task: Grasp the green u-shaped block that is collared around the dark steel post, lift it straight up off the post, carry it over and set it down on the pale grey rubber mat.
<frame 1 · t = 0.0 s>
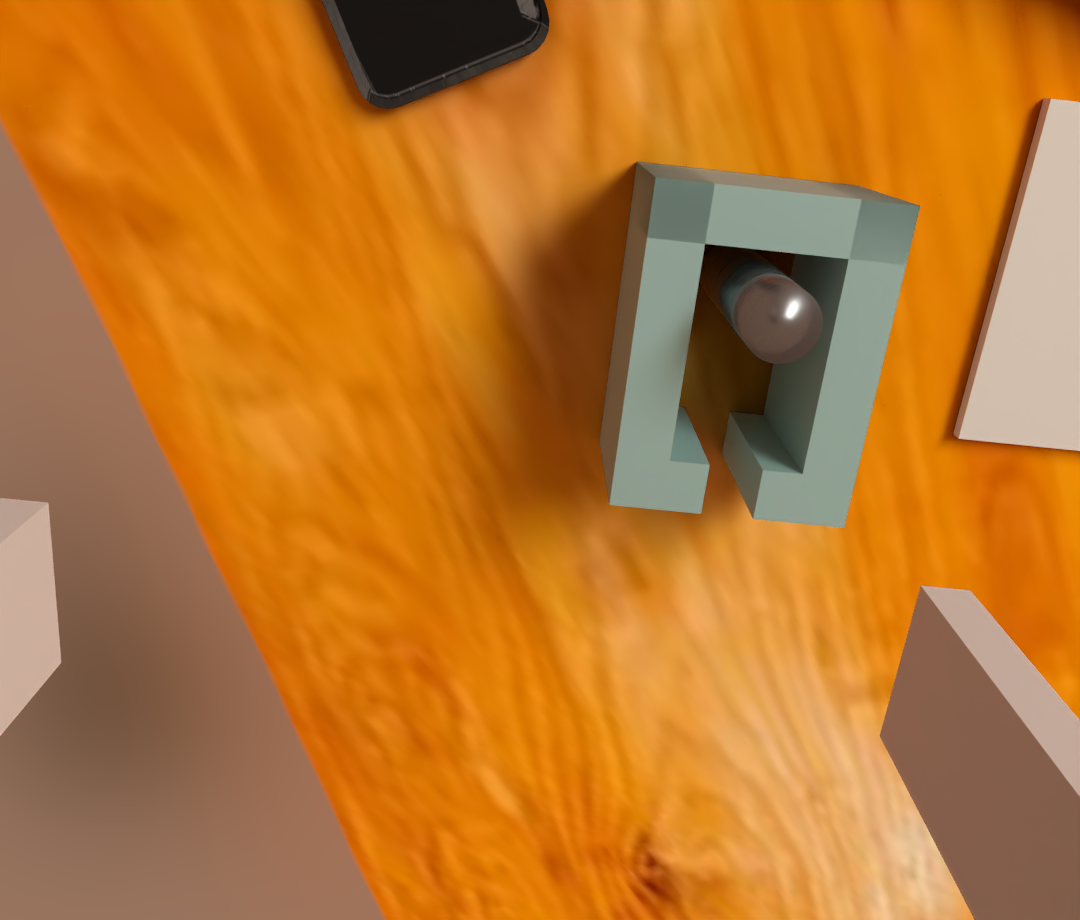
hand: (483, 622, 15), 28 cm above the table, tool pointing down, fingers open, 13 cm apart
green u-shaped block: (722, 319, 42), on the table
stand: (730, 272, 41), on the table
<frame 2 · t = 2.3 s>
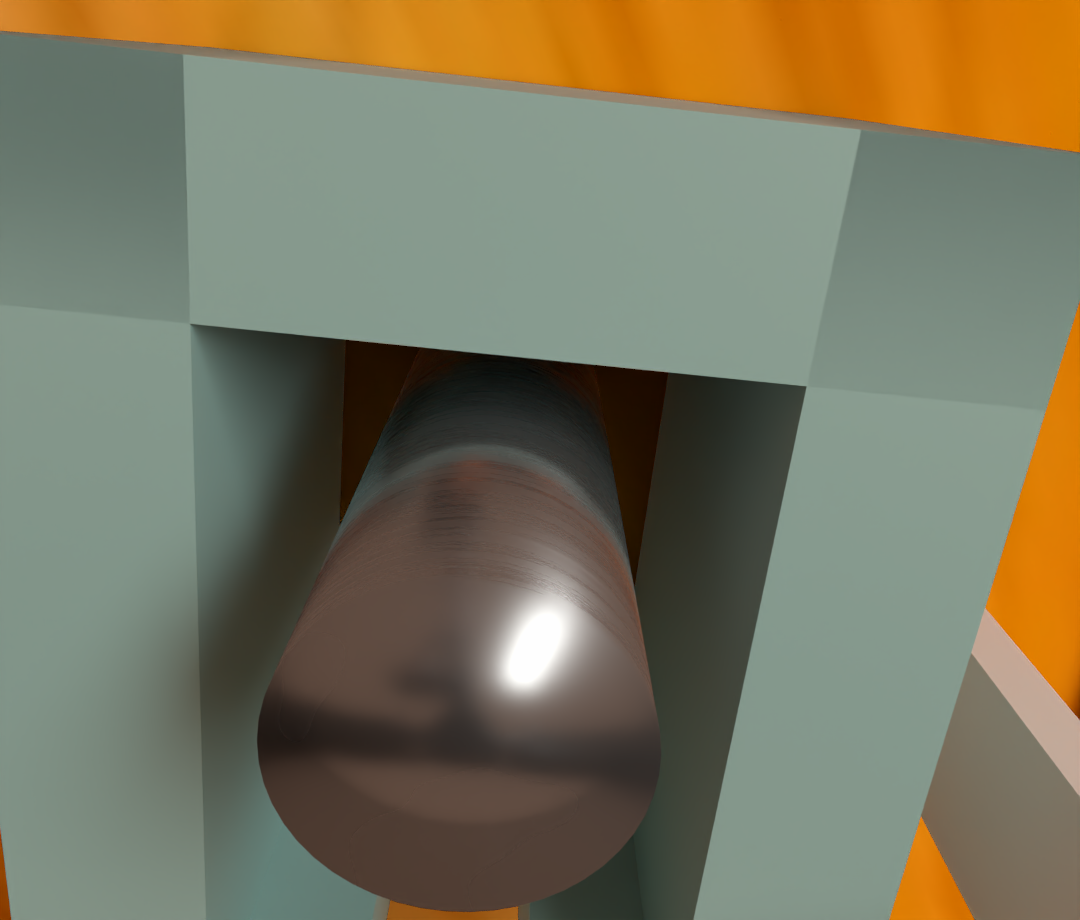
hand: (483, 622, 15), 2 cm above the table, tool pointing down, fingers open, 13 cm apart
green u-shaped block: (496, 478, 16), on the table
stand: (507, 359, 15), on the table
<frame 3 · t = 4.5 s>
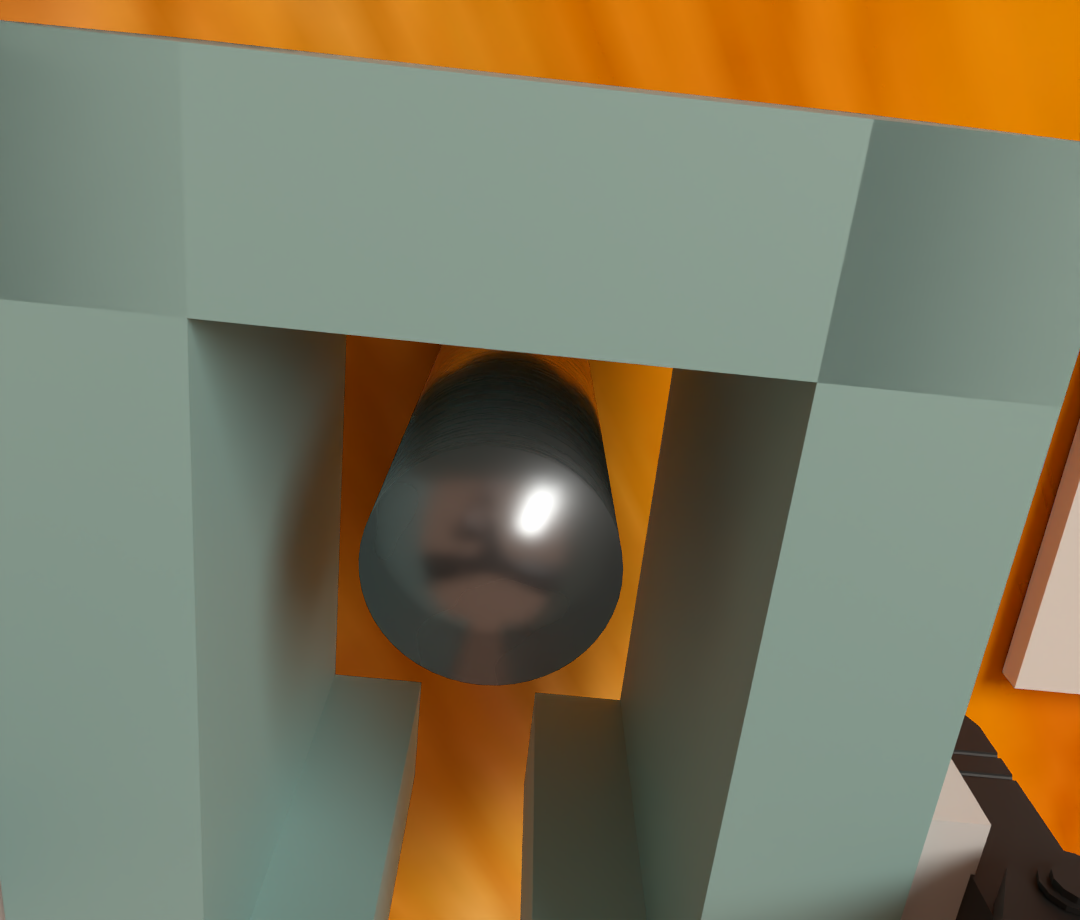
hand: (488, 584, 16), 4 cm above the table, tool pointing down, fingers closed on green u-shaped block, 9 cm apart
green u-shaped block: (498, 477, 16), point 4 cm above the table, touching gripper
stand: (516, 346, 19), on the table
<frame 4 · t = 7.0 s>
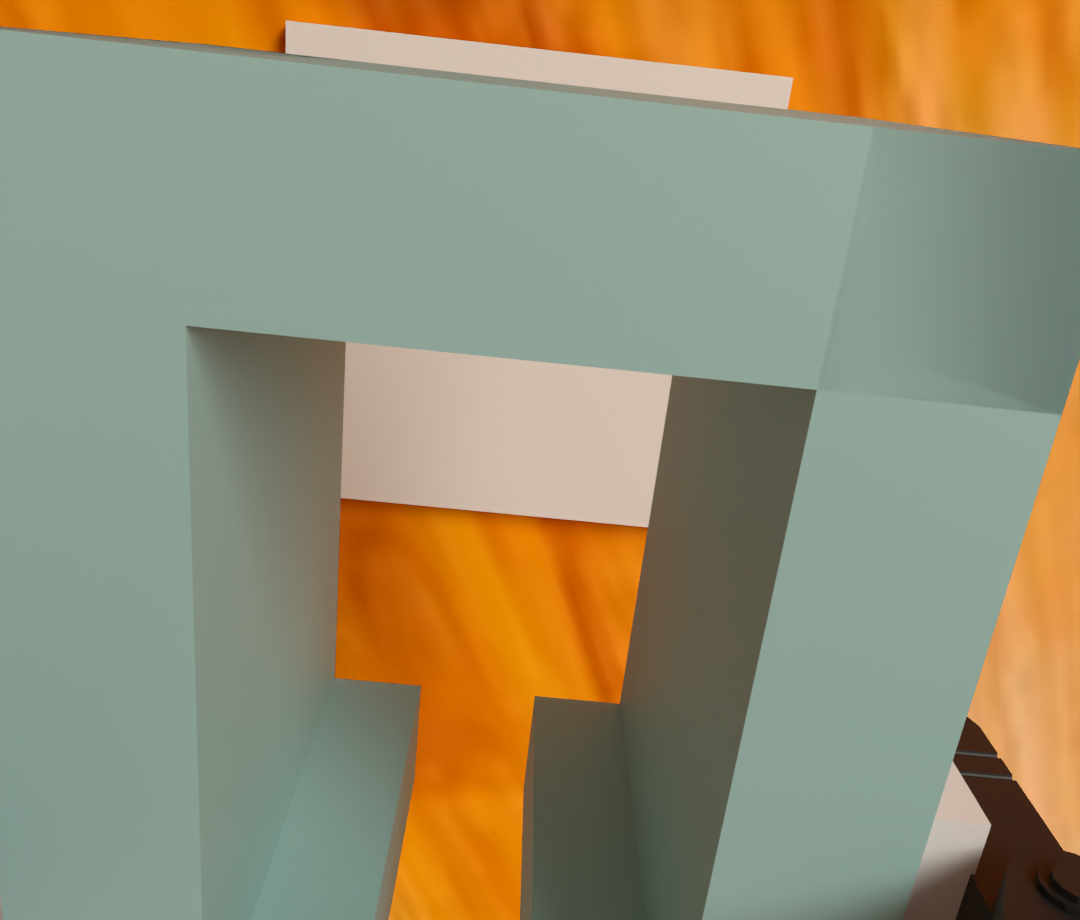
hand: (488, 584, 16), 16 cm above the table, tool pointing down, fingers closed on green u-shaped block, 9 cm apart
green u-shaped block: (498, 481, 16), point 15 cm above the table, touching gripper
mat: (517, 296, 30), on the table
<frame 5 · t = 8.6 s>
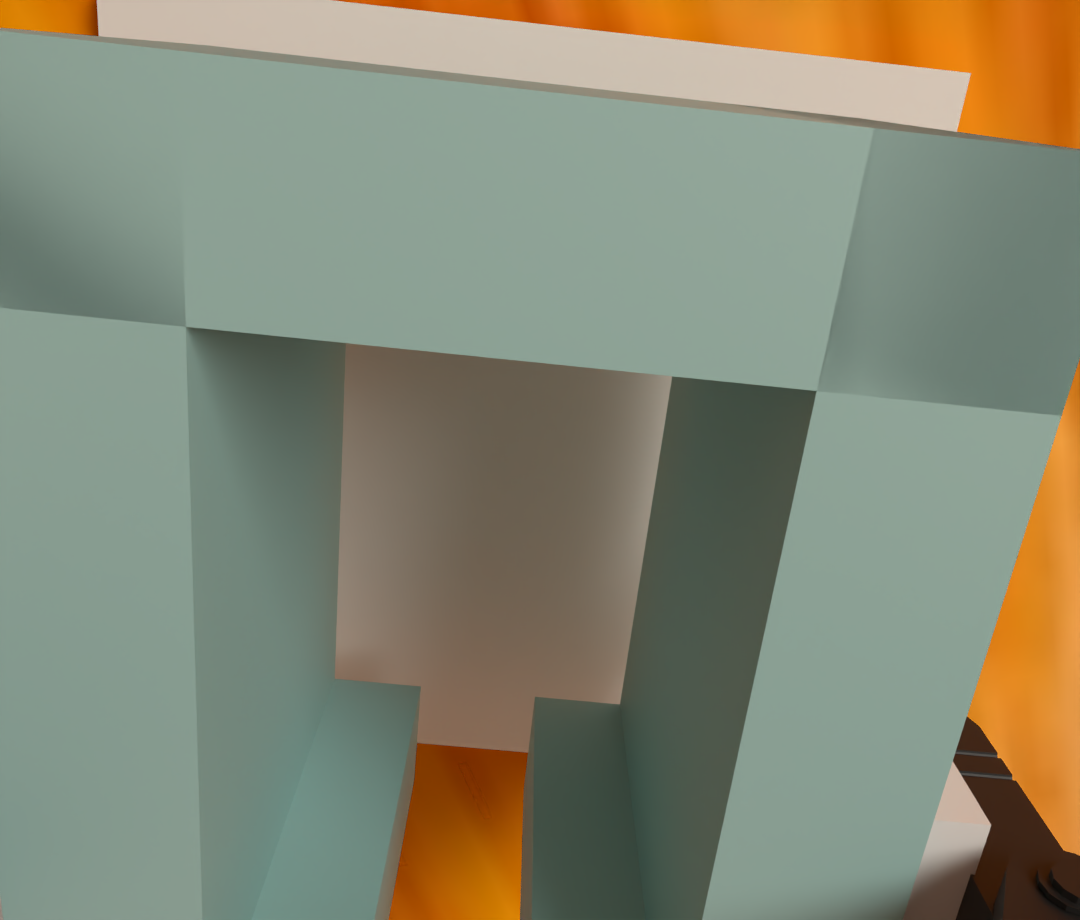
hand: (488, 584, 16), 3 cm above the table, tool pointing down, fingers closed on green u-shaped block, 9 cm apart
green u-shaped block: (498, 481, 16), point 3 cm above the table, touching gripper
mat: (502, 425, 19), on the table
when the fingers open (2 cm above the table, at t = 9.8 s): green u-shaped block drops 1 cm, resting on mat.
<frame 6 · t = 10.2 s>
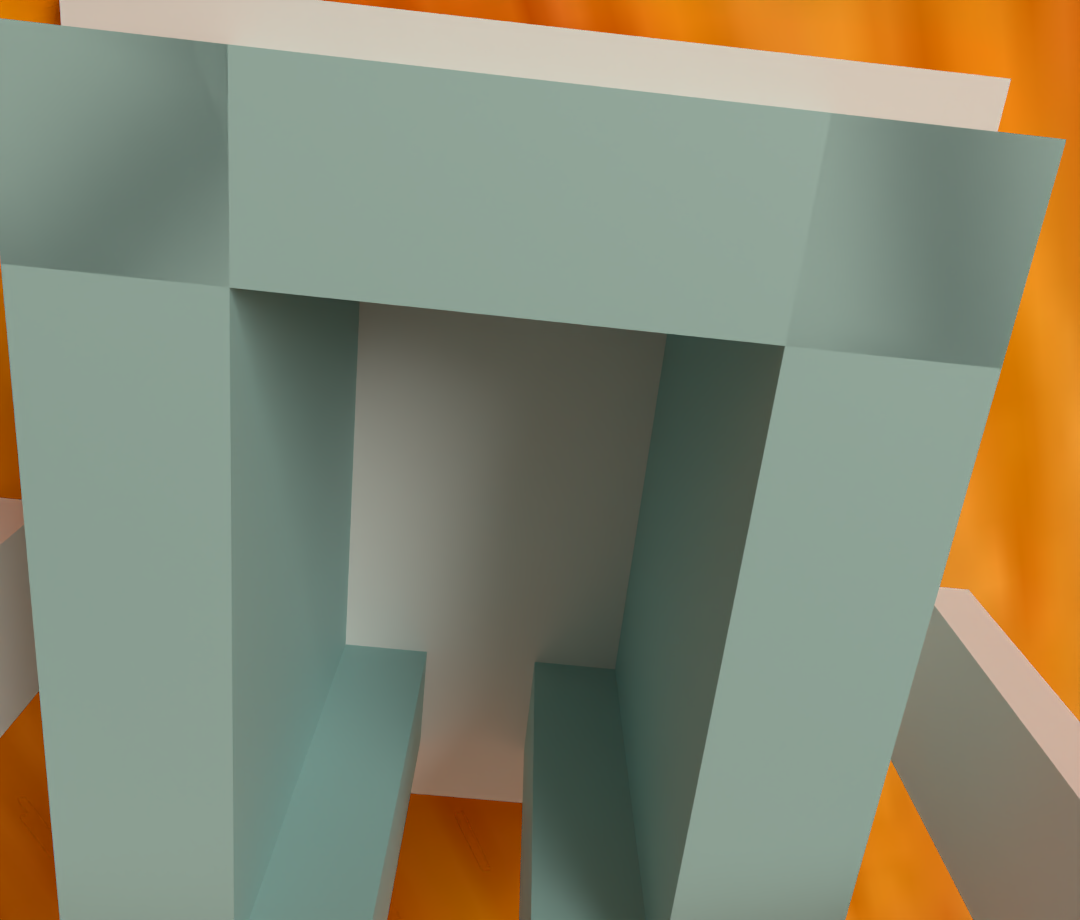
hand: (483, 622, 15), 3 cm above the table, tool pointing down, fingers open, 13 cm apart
green u-shaped block: (500, 455, 17), point 1 cm above the table, touching mat
mat: (500, 456, 17), on the table
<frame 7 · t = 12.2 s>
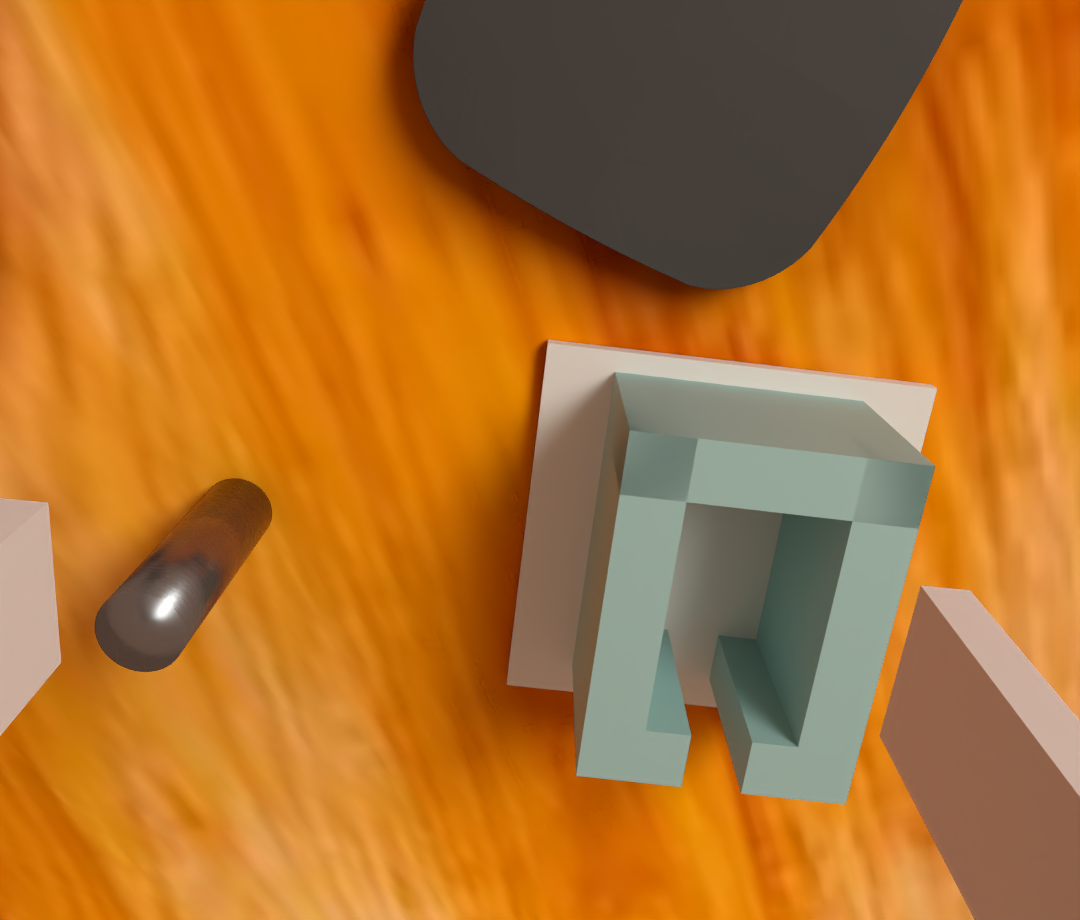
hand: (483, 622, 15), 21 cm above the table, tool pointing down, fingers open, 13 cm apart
green u-shaped block: (710, 539, 37), point 1 cm above the table, touching mat
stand: (238, 510, 38), on the table
media streaming box: (678, 19, 32), on the table
mat: (707, 538, 38), on the table
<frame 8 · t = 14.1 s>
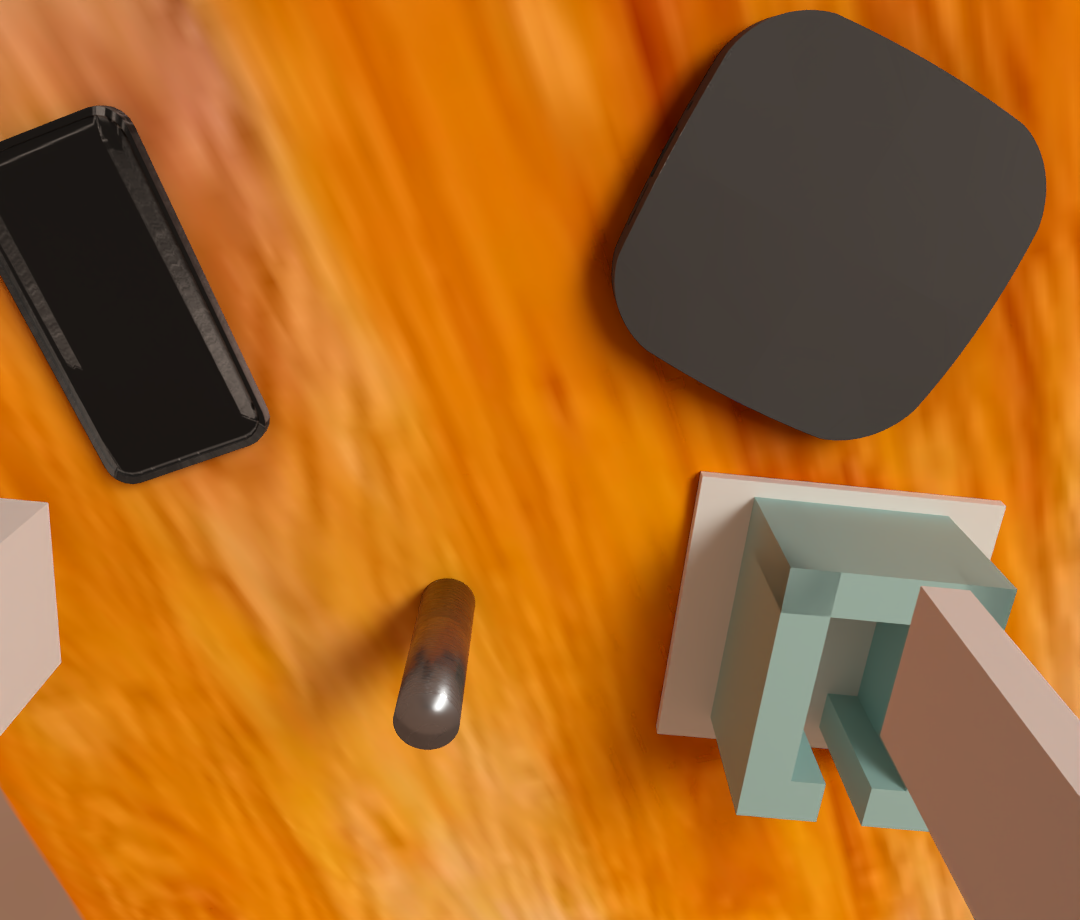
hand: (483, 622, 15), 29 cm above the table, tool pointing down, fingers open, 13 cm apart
green u-shaped block: (824, 620, 47), point 1 cm above the table, touching mat
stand: (448, 602, 47), on the table
media streaming box: (810, 232, 42), on the table
phone: (126, 302, 43), on the table
mat: (820, 618, 48), on the table
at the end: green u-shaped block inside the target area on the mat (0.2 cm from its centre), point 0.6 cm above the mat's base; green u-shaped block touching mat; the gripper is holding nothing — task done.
